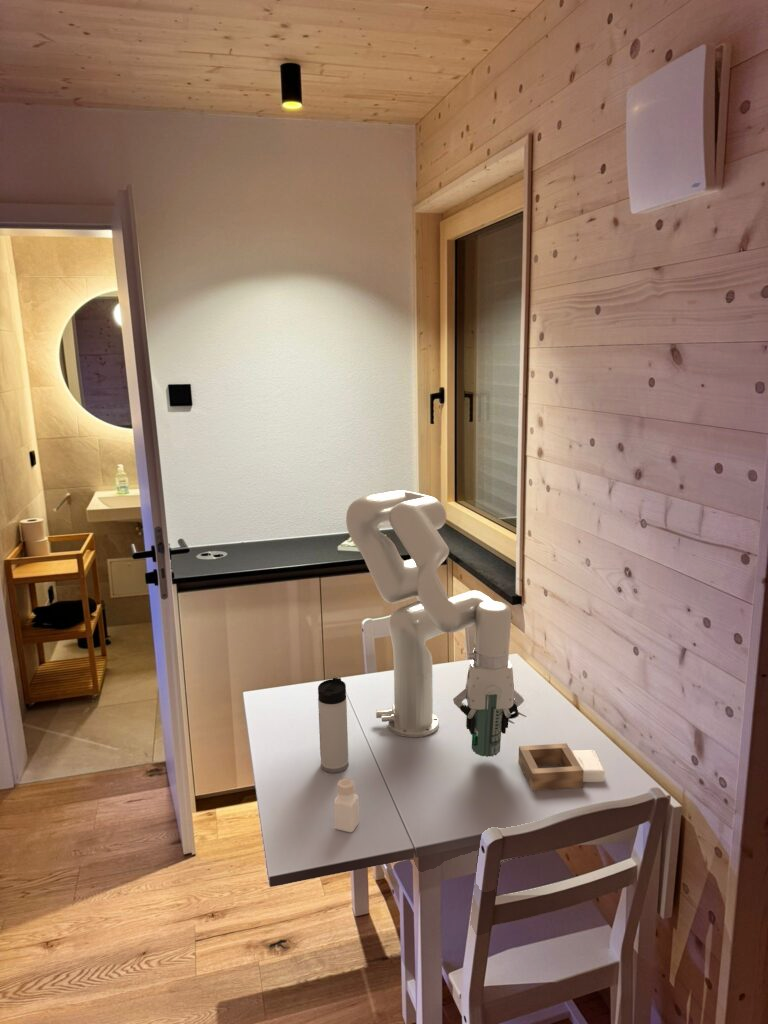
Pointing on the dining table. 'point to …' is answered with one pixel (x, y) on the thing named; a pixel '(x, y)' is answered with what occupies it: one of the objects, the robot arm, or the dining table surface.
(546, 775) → the socket
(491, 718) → the can
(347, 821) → the pepper shaker
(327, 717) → the travel mug
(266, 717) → the dining table surface
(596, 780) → the soap
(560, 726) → the dining table surface
